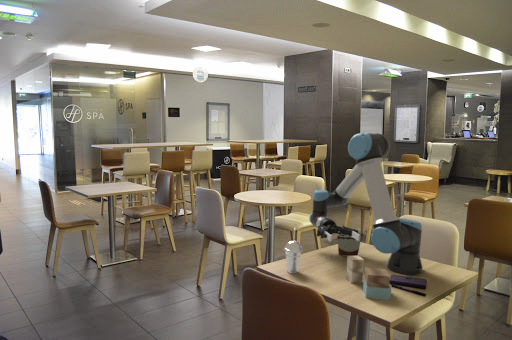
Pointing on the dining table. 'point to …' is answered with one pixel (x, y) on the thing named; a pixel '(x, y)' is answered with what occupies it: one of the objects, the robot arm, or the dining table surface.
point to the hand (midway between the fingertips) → (345, 238)
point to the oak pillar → (354, 269)
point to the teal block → (376, 292)
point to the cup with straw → (293, 254)
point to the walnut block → (377, 277)
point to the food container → (348, 245)
